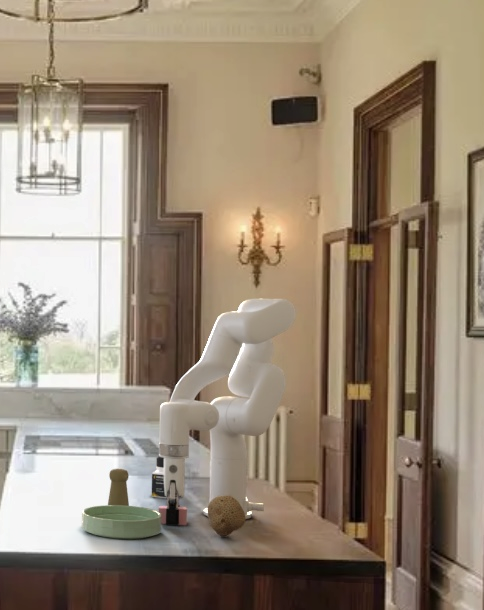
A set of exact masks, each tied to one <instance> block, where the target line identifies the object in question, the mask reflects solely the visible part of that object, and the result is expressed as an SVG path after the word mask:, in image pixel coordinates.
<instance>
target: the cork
mask: <svg viewBox="0 0 484 610" xmlns="http://www.w3.org/2000/svg"><path fill="white" fill-rule="evenodd" d="M108 474H109V476H108V477H109V480H110V487H109V493H108V501H107V505H123V506H130V504H129V503H130V501H129V494H128V492H129V491H128V484H127V483H128V480H129V475H130V474H129V471H128V470H127V469H123V468H112V469H111V470H110V471H109V473H108Z"/></svg>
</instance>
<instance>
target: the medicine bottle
mask: <svg viewBox="0 0 484 610" xmlns="http://www.w3.org/2000/svg"><path fill="white" fill-rule="evenodd" d="M155 463H156V465H155V466H156V470H155V471H153V472H152V473H151V497H152V498H157V499H158V498H159V499H167V497H166V496H165V492H164V458H163V457H160V456H159V455H157V456H156V462H155Z"/></svg>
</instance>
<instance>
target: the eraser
mask: <svg viewBox="0 0 484 610" xmlns="http://www.w3.org/2000/svg"><path fill="white" fill-rule="evenodd" d="M166 508H167V505H159V507H158V512H160V513H161V514H162V519H161V525H167V524H166ZM178 509H179V525H178V526H187V524H188V523H187V522H188V507H187V506H180V507H178Z"/></svg>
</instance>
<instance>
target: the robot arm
mask: <svg viewBox="0 0 484 610" xmlns="http://www.w3.org/2000/svg"><path fill="white" fill-rule="evenodd" d="M296 318H297V310H296V308H295V306H294V304H293V303H292V302H291V301H290V300H288V299H285V298H249V299H245V300H244V301H242V303H240V305H239V307H238V310H237V311H226V312H224V313H221V314H220V315H219V316H218V317H217V319H216V321H215V323H214V325H213V328H212V330H211V332H210V335H209V338H208V341H207V343H206V346H205V348H204V351H203V353H202V355H201V358H200V359H199V361H198V362H197V363H196V364H194V366H192V367H191V368H190V369H188V371H187V372H186V373H185V374H184V375H183V376H182V377H181V378H180V379H179V381H178V382H177V384H176V385H175V386H174V390H173V392H172V394H171V397H170V399H169V401H166V402H163V403H161V405H160V407H159V434H158V435H159V439H158V440H159V441H158V442H159V445H158V456H160V457H163V458H164V492H165V496H166V497H167V498H166V506H167V508H166V524H165V525H167V526H180V525H179V509H178V507H181V506H180V505H181V504H180V497H181V499H183V498H185V493H186V492H185V487H186V484H185V483H186V460H185V459H189V458H190V431H200V432H206V431H209V436H210V437H209V438H210V440H209V441H210V457H209V458H210V459H209V460H210V461H209V502H210V501H211V500H212V499H213V498H215V497H217V496H222V495H229V496H232V497H233V498H235V499H236V500H237V501H238V502H239V503H240V505H241V507H242V509H243V511H244V513H245V517H246V518H245V520H249V519H251V518H252V517H253V513H252V511H256V512H264V511H265V504H264V503H259V502H251V501H249V500H248V497H247V476H248V475H247V474H248V471H247V470H248V448H247V442H246V440H245V437H244V436H249V437H259V436H262V435H263V434H264V433H266V431H267V430H268V429H269V428H270V426H271V424H272V422H273V419H274V418H275V415H276V413H277V411H278V408H279V406H280V404H281V402H282V400H283V397H284V395H285V392H286V386H287V378H286V375H285V372H284V370H283V369H282V368H281V367H280V366H278V365H277V364H273V363H272V360H273V358H274V353H275V347H274V343H273V340H272V339H273V338H275V337H277V336H279V335H280V334H283V333H285V332H286V331H288V330H289V329H291V328H292V326H293V325H294V324H295V321H296ZM227 376H229V377H228V380H227V387H228V390H229V391H230V393H232V394H234V395H236V396H231V395H230V396H229V395H227V396H226V395H225V396H219V397H216V398H214V399H213V400H212V401H211V402H208V401H201V400H195V398H196V397H197V396H198V394H199V393H200V392H201V391H202V390H203V389H204V388H205V387H207V386H208V385H211V384H212V383H214V382H216V381H219V380H222V379H223V378H225V377H227ZM203 515H204V516H206V517H208V512H207V507H206V508H204V509H203Z"/></svg>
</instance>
